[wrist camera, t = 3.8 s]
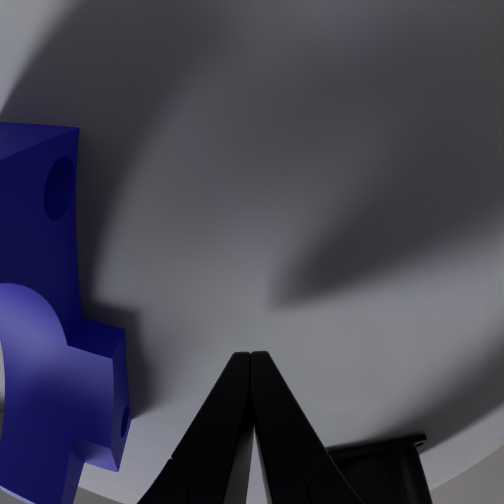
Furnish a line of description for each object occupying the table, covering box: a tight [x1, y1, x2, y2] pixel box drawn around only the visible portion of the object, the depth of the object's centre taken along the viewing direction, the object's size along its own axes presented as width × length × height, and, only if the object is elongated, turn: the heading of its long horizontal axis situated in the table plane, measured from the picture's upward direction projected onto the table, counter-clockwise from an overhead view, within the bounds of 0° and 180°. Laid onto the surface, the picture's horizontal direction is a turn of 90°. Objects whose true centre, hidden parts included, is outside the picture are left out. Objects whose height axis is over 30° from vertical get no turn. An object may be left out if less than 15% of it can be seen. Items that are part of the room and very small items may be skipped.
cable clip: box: [0, 123, 131, 504], centre depth 7 cm, size 12×4×6 cm, turn 167°
